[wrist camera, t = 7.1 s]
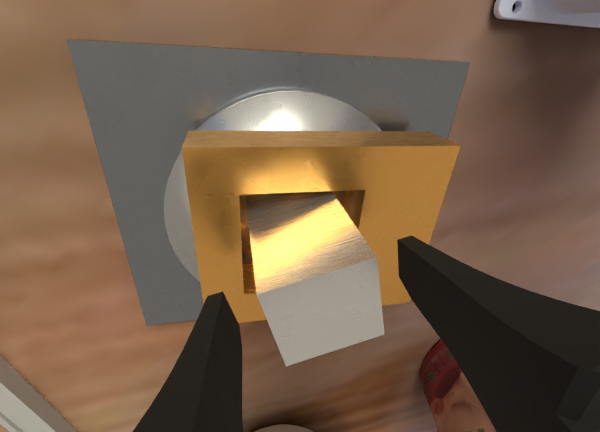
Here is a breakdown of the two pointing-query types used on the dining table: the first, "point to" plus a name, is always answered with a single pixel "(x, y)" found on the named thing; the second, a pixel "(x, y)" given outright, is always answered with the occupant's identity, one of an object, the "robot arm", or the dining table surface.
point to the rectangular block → (313, 274)
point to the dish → (284, 429)
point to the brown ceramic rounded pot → (451, 394)
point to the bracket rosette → (260, 156)
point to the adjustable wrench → (26, 406)
